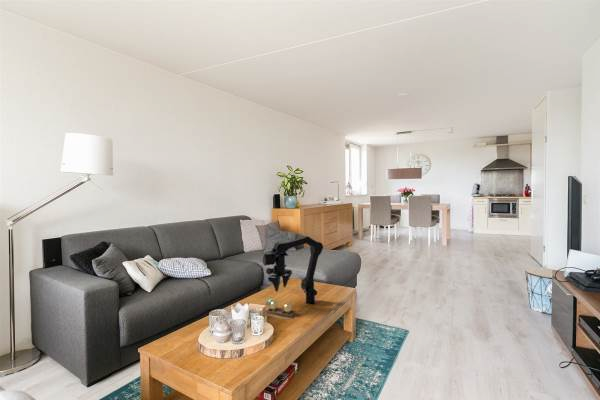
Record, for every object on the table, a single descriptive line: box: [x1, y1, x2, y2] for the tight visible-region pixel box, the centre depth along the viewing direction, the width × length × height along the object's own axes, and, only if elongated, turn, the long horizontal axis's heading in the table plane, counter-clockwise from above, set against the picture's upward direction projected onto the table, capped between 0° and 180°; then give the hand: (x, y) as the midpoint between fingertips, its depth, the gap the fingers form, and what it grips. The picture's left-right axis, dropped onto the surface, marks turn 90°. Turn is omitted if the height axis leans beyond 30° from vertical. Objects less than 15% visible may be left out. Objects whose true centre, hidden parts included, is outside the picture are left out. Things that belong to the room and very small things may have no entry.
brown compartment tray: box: [265, 307, 299, 320], centre depth 178 cm, size 11×17×3 cm, turn 63°
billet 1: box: [270, 300, 279, 312], centre depth 180 cm, size 4×4×6 cm
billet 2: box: [283, 302, 292, 315], centre depth 176 cm, size 4×4×6 cm
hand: (280, 289), depth 187 cm, fingers open, 9 cm apart
